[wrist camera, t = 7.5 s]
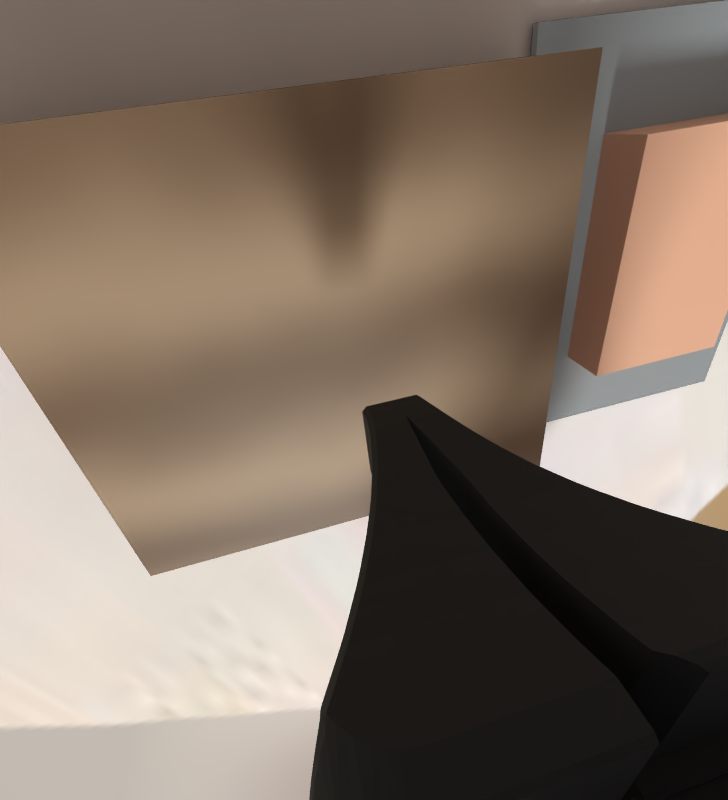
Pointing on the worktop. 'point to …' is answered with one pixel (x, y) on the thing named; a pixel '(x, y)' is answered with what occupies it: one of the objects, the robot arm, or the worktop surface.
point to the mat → (623, 110)
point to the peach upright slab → (655, 247)
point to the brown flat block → (289, 285)
